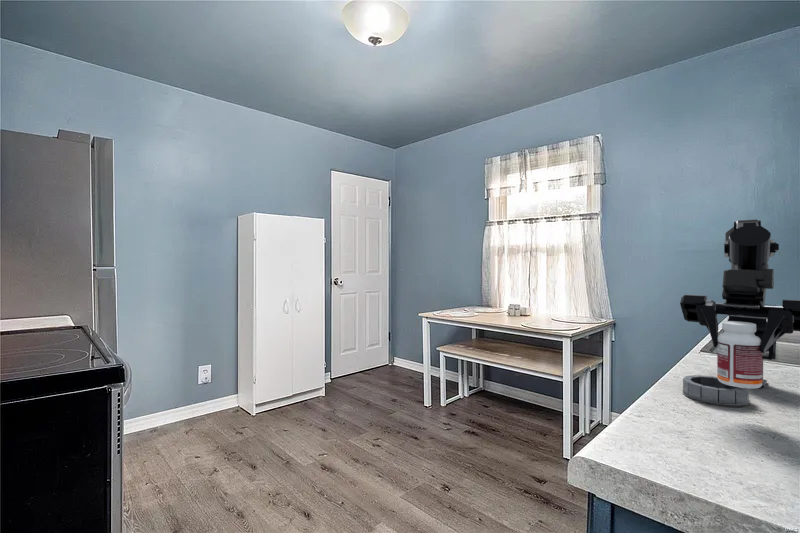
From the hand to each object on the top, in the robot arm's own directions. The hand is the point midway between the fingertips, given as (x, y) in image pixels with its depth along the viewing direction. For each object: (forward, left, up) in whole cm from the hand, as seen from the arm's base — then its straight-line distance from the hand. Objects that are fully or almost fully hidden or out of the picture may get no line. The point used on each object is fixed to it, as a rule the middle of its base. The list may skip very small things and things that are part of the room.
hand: (737, 348), depth 71 cm
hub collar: (-11, -5, -13) cm, 18 cm away
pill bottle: (-1, 0, -7) cm, 7 cm away
